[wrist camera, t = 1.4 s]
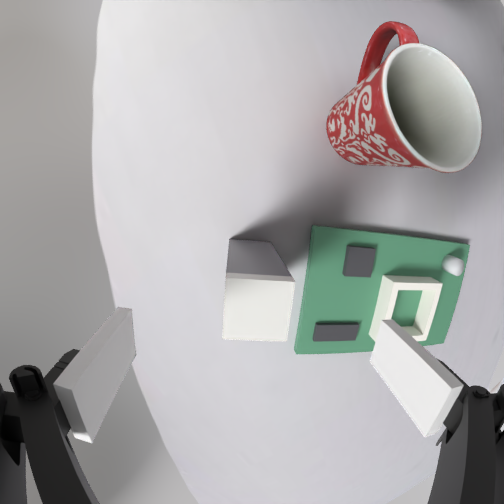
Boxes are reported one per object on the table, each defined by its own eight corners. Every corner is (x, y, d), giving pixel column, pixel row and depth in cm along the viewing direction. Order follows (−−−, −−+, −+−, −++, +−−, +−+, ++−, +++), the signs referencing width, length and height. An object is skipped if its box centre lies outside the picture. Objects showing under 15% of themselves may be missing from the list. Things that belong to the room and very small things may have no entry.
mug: (396, 176, 27) (487, 179, 14) (319, 173, 27) (389, 166, 14) (387, 70, 24) (460, 26, 11) (311, 58, 24) (360, -13, 11)
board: (312, 225, 28) (323, 230, 24) (464, 243, 30) (482, 249, 26) (294, 348, 31) (300, 366, 27) (438, 339, 33) (453, 351, 29)
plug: (229, 238, 28) (225, 277, 16) (270, 241, 28) (295, 281, 16) (226, 278, 29) (222, 338, 17) (266, 280, 29) (286, 341, 17)
